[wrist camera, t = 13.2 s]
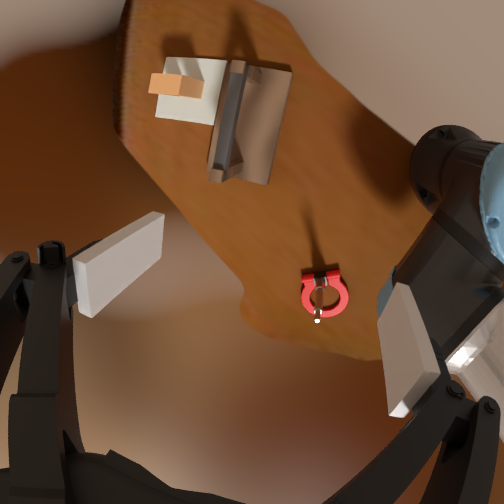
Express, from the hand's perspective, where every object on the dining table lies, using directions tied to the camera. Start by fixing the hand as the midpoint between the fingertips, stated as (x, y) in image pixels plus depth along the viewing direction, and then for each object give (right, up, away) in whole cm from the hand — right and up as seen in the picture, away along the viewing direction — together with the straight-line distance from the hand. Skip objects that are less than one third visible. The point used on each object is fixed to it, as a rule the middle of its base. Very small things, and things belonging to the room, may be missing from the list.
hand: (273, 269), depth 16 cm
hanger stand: (-1, +21, +28) cm, 35 cm away
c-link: (-11, +27, +27) cm, 40 cm away
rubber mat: (-11, +28, +28) cm, 41 cm away
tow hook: (+12, -6, +37) cm, 39 cm away
